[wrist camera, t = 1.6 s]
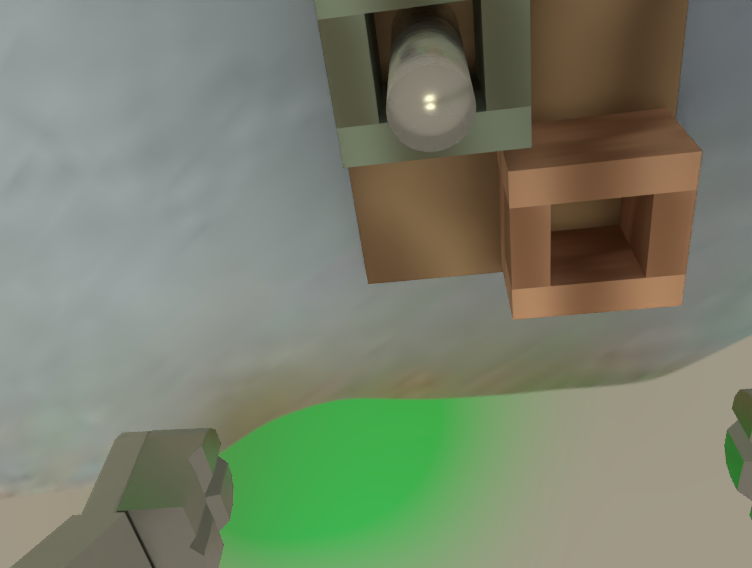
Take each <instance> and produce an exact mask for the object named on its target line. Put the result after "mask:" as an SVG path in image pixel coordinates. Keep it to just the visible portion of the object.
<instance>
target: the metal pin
mask: <svg viewBox="0 0 752 568" xmlns="http://www.w3.org/2000/svg"><path fill="white" fill-rule="evenodd" d="M475 114H476V101H475V96H474V92H473V87H472V83H471V78H470V74H469V70H468V65H467V61H466V56H465V52H464V48H463V43H462V39H461V34H460V30H459V26H458V21H457V18H456V15H455V13H454V11H453V9H452V8H451V7H450V6H449V5H448V4H447V3H441V4H434V5H426V6H418V7H411V8H403V9H398V11H397V13H396V14H395V17H394V19H393V23H392V32H391V47H390V61H389V75H388V89H387V103H386V116H387V121H388V124H389V126H390V128H391V130H392V132H393V133H394V135H395V136H396V137H397V138H398V140H400V141H401V142H402V143H403V144H405V145H406V146H408V147H410V148H412V149H415V150H418V151H423V152H436V151H441V150H445V149H447V148H450V147H452V146H453V145H455V144H457V143H458V142H459V141H461V140H462V139H463V138H464V137H465V135H466V134H467V133H468V132H469V130H470V128H471V126H472V124H473V122H474V118H475Z"/></svg>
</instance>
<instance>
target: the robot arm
mask: <svg viewBox="0 0 752 568" xmlns="http://www.w3.org/2000/svg"><path fill="white" fill-rule="evenodd" d="M732 410H733V411H734V413H735V415H736V417H737V419H738V420H737V421H736V422H735V423H734V424H733V425H732V426H731V427H730V428H728V429H727V434H726V439H725V445H724V446H725V456H726V464H727V467H728V470H729V474H730V477H731V479H732V481H733V483H734V485H735V487H736V489H737V491H739V492H740V493H742V494H743V495H745V496H746V497H747V498H749V499H750V500H752V389H742V390H739V392H738V393H737V394H736V396H735V398H734V402H733V406H732ZM220 447H221V442H220V439H219V437H218V434H217V432H216V430H215V429H212V428H195V429H174V430H152V431H145V432H123V433H122V434H121V435H119V436H118V437H117V438H116V439H115V441H114V443H113V446H112V448H111V450H110V452H109V454H108V457H107V459H106V461H105V463H104V466H103V468H102V470H101V472H100V474H99V477H98V479H97V481H96V483H95V486H94V488H93V490H92V492H91V495H90V497H89V499H88V501H87V504H86V506H85V508H84V510H83V512H82V514H81V515H72V516H71V517H70V518H69V519H68V520H67V521H65V522H64V523H63V524H62V525H60V526H59V527H58V528H57V529H56V530H55V531H53V532H52V533H51V534H50V535H48V536H47V537H46V538H45V539H44V540H42V541H41V542H40V543H39V544H38V545H37V546H35V547H34V548H33V549H32V550H31V551H29V552H28V553H27V554H26V555H25V556H23V557H22V558H21V559H20V560H19V561H18V562H16V563H15V564H14V565H13V566H12V567H10V568H218V567H219V563H220V559H221V555H222V550H223V546H224V544H223V542H222V539H221V536H220V533H219V531H220V530H221V529H222V528H223V527H224V526H225V525H226V524H227V523H228V522H229V521H230V516H231V511H232V506H233V481H232V474H231V471H230V468H229V465H228V463H227V462H226V461H225V460H223V459H222V458H220V457H219V456H218V454H219V451H220ZM750 517H751V519H752V508H751V512H750Z"/></svg>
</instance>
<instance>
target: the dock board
mask: <svg viewBox="0 0 752 568" xmlns="http://www.w3.org/2000/svg"><path fill="white" fill-rule="evenodd" d="M314 3H315V9H316V14H317V20H318V26H319V31H320V37H321V43H322V48H323V54H324V60H325V66H326V71H327V77H328V83H329V88H330V94H331V100H332V105H333V111H334V117H335V122H336V128H337V134H338V140H339V145H340V151H341V157H342V162H343V168H349V174H350V180H351V186H352V192H353V198H354V204H355V209H356V215H357V221H358V227H359V233H360V239H361V244H362V250H363V256H364V262H365V268H366V274H367V279H368V284H374V283H385V282H396V281H407V280H418V279H429V278H440V277H451V276H462V275H473V274H484V273H495V272H503V273H504V278H505V283H506V288H507V293H508V298H509V303H510V307H511V312H512V317H513V319H525V318H537V317H549V316H561V315H573V314H585V313H597V312H609V311H621V310H633V309H645V308H657V307H669V306H681V305H682V298H683V291H684V284H685V276H686V269H687V261H688V254H689V247H690V239H691V232H692V224H693V217H694V210H695V202H696V195H697V188H698V180H699V173H700V165H701V158H702V150H701V149H700V148H699V147H698V145H697V144H696V143H695V142H694V141H693V139H692V138H691V137H690V136H689V135H688V134H687V132H686V131H685V130H684V129H683V128H682V126H681V125H680V124H679V123H678V122H677V121H676V110H677V101H678V92H679V82H680V73H681V64H682V55H683V46H684V37H685V28H686V18H687V9H688V0H314ZM441 3H447V4H448V5H449V6H450V7H451V8H452V9H453V11H454V13H455V15H456V18H457V21H458V26H459V30H460V34H461V39H462V43H463V48H464V52H465V56H466V61H467V65H468V70H469V74H470V78H471V83H472V87H473V92H474V96H475V101H476V114H475V118H474V122H473V124H472V126H471V128H470V130H469V132H468V133H467V134H466V135H465V137H464V138H463V139H462V140H461V141H459V142H458V143H457V144H455V145H453V146H452V147H450V148H447V149H445V150H441V151H436V152H423V151H418V150H415V149H412V148H410V147H408V146H406V145H405V144H403V143H402V142H401V141H400V140H398V138H397V137H396V136H395V135H394V133H393V132H392V130H391V128H390V126H389V124H388V121H387V116H386V103H387V89H388V75H389V61H390V47H391V32H392V23H393V19H394V17H395V14H396V13H397V11H398V9H403V8H411V7H418V6H426V5H434V4H441Z"/></svg>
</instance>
